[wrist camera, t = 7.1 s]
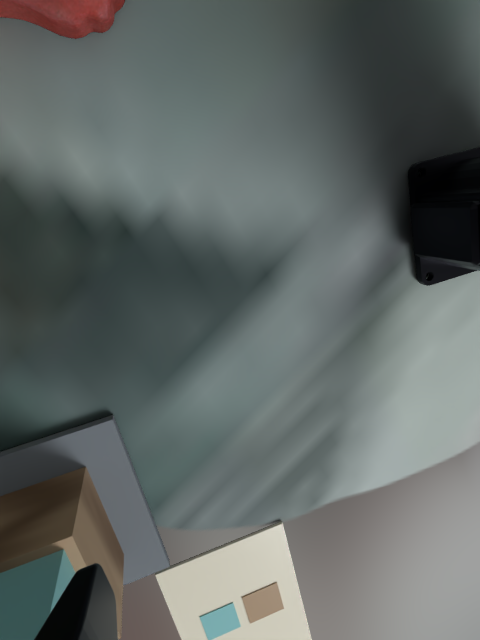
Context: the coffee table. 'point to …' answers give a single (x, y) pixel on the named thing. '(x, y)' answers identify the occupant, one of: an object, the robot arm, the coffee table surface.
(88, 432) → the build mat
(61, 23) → the stacking bear
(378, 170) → the coffee table surface
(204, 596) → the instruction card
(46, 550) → the walnut brick
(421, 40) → the coffee table surface
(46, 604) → the teal brick
